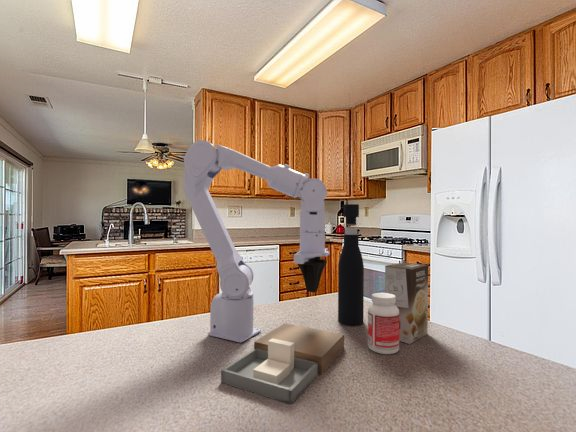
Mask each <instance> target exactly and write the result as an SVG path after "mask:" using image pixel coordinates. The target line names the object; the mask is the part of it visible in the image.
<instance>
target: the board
mask: <svg viewBox="0 0 576 432" xmlns="http://www.w3.org/2000/svg"><path fill="white" fill-rule="evenodd" d="M272 338H273V339H278V340H283V341H287V342H292V343H294V357H295V358H300V359H304V360H308V361H312V362H316V363H318V375H323V374H324V372H326V370H327V369H328V368H329V367H330V365H332V363H333V362H334V361H335V360H336V359H337V357H338V356H339V355H340V354H341V353H342V352H343V351H344V350H345V334H344V333H340V332H339V333H338V332H334V331H329V330H322V329H317V328H311V327H308V326H307V327H306V326H301V325H297V324H296V325H294V324H292V323H291V324H290V323H286V322H285V323H284V322H283V323H282V324H280V325H279V326H277V327H275V328H274V329H272V330H271V331H269V332H268V333H266V334H264V335H263V336H262V337H259V338H257V339H256V340H255V341H253V349H255V348H258V349H262V350H266V351H268V341H269V340H270V339H272Z"/></svg>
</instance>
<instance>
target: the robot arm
mask: <svg viewBox="0 0 576 432" xmlns="http://www.w3.org/2000/svg"><path fill="white" fill-rule="evenodd" d="M214 145H215V146H214ZM183 163H184V172H183V184H182V185H183V186H182V187H183V192H184V194H185V196H186V198H187V200H188V203H189V205H190V206H191V209H192V211H193V213H194V215H195V217H196V220H197V222H198V224H199V226H200V229H201V230H202V233H203V235H204V237H205V239H206V241H207V243H208V245H209V248H210V250H211V252H212V254H213V256H214V258H215V262H216V271H217V273H218V276H219V288H220V290H221V292H219V293H217V294H216V295H214V296H213V298H212V301H211V303H210V317H209V318H210V319H209V321H210V323H209V324H210V330H209V332H207V335H208V336H210V337H215V338H218V339H219V338H220V339H224V340H228V341H230V342H231V341H232V342H237V343H243V342H245V341H247V340H249V339H250V338H253V336H256V335H257V334H259V333H261V331H262V330H261V328H258V327H254V291H253V290H252V288H251V287H250V286H251V285H252V282H253V281H254V272H253V270H252V268H251V266H249V265H248V264H247V263H246V262H245V261H244V260H243V257H242V256H241V254H240V253H239V252H238V251H237V248H236V247H235V243H234V242H233V241H232V238H231V236H230V233H229V232H228V230H227V227H226V225H225V223H224V221H223V219H222V217H221V215H220V212H219V210H218V208H217V205H216V204H215V201H214V200H213V198H212V195H211V193H210V191H209V189H210V187H211V184H212V182H213V180H214V178H215V177H216V176H217V175H218V174H220V172H221V171H222V170H224V171H230V170H233V169H234V170H235V169H237V170H239V171H242V172H244V173H247V174H250V175H253V176H255V177H258V178H259V179H260V178H261V179H263V180H266V182H267V184H268V186H269V188H270V189H273V190H275V191H277V192H280V193H282V194H284V195H286V196H289V197H291V198H293V199H296V198H299V199H300V202H301V203H300V211H299V251H297V252H296V253H294V254H293V264H297V266H298V268H299V269H300V272H301V274H302V277H303V281H304V285H305V289H306V292H308V293H316V292H318V290H319V288H320V287H319V286H320V281H321V277H322V274H323V272H324V269H325V267H326V265H327V261H328V260H327V259H325V258H324V257H328V256H329V255H330V254H331V252H330V251H329V248H328V247H326V211H325V206H326V205H325V200H326V198H327V195H328V190H327V188H326V185H325V184H324V182H323V181H322V180H320V179H318V178H311V177H310V174H309V173H307V172H306V173H305V172H304V173H301V172H299V171H297V170H294V169H291V166H290V164H286V163H284V165H282V164H280V163H279V164H277V165H275V166H270V165H268V164H265V163H263V162H261V161H259V160H256V159H254V158H252V157H250V156H248V155H246V154H243V153H241V152H239V151H236V150H234V149H232V148H229V147H226V146H223V145H221V144H217V143H214V144H212V143H211V142H209V141H207V140H204V139H203V140H201V139H200V140H196V141H194V142H193V143H191V145H189V148H188V149H187V151H186V153H185V155H184V156H183ZM309 177H310V178H309ZM322 257H323V258H324V259H323V258H322Z"/></svg>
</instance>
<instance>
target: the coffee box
mask: <svg viewBox="0 0 576 432" xmlns="http://www.w3.org/2000/svg"><path fill="white" fill-rule="evenodd" d="M384 269H385V270H384V293H389V294H393V295H395V296H396V302H395V304H394V305H395V306H396V307H397V308H398V309H399V342H401V343H405V344H407V345H411V344H413V343H414V342H416V341H417V340H419V339H421V338H423V337H425V336H426V335H428V333H429V332H428V331H429V329H428V326H429V325H428V323H429V319H428V317H429V316H428V315H429V311H428V310H429V264H422V263H413V262H398V263H393V264H388V265H385V266H384Z"/></svg>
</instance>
